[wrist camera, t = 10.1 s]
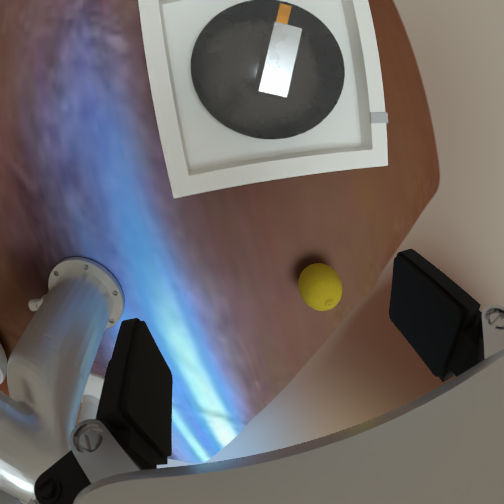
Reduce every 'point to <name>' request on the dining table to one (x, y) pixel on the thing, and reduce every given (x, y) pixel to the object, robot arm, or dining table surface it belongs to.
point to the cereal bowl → (2, 364)
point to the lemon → (320, 286)
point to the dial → (267, 69)
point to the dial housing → (248, 148)
